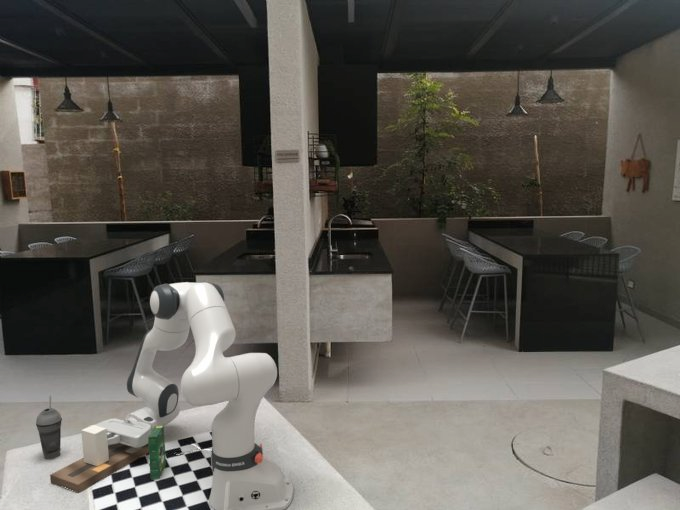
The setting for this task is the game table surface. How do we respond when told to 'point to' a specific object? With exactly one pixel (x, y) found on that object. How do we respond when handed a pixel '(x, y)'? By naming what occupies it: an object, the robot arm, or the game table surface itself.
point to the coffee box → (157, 452)
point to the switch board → (97, 467)
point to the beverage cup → (49, 432)
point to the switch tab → (95, 445)
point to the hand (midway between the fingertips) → (101, 443)
